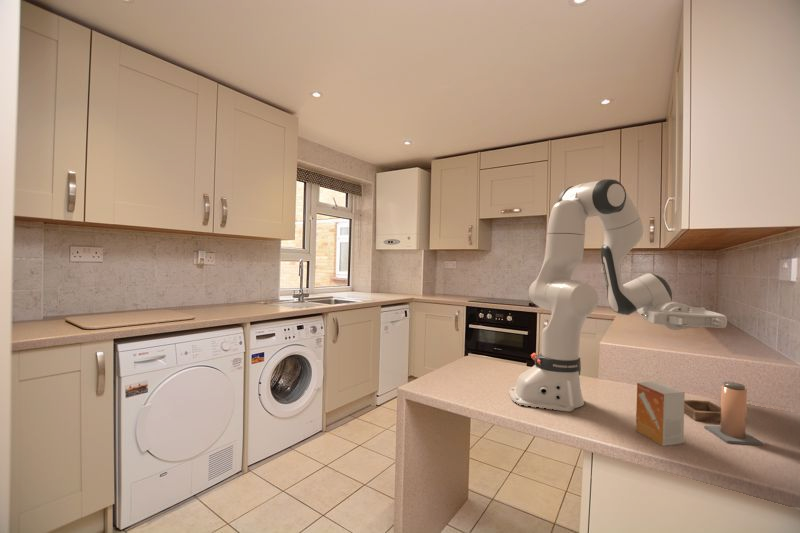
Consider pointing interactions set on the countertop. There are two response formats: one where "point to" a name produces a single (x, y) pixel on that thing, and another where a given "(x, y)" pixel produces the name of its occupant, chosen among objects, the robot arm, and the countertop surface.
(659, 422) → the small box
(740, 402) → the jar
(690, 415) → the brown wooden square tray
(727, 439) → the mat
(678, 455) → the countertop surface
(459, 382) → the countertop surface
